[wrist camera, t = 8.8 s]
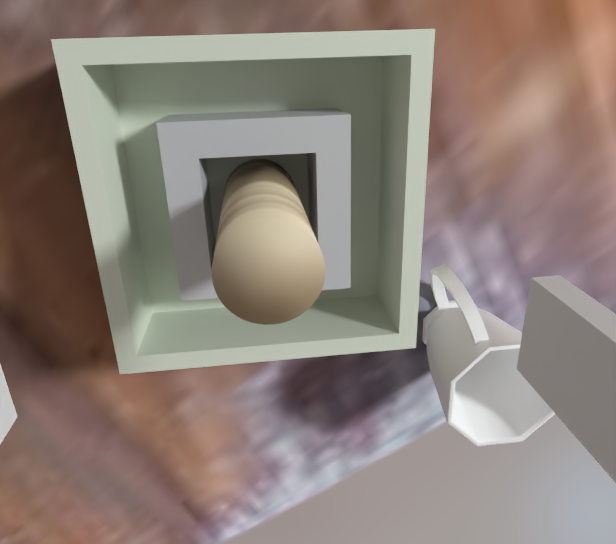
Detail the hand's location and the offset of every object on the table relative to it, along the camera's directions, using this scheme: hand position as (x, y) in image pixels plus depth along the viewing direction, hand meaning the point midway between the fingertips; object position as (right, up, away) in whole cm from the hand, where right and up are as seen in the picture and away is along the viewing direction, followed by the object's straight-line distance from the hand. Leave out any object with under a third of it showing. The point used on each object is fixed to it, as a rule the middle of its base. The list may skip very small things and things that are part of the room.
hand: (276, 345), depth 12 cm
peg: (-2, +6, +16) cm, 18 cm away
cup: (+10, -1, +22) cm, 24 cm away
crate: (-2, +7, +17) cm, 19 cm away
